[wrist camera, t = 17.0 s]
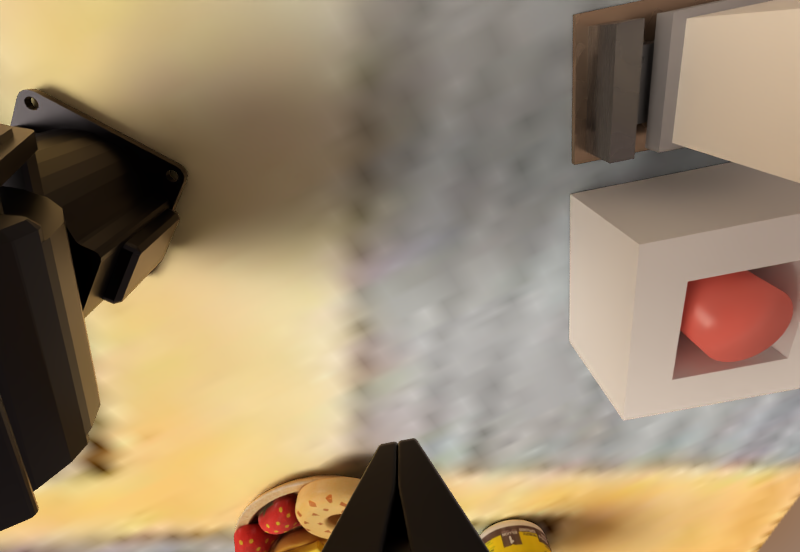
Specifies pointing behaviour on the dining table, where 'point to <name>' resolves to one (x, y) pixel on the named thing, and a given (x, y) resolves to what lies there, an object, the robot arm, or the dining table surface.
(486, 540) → the supplement bottle
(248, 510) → the toy food set
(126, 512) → the dining table surface
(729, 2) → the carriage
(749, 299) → the button
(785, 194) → the white button housing
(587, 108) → the rail
